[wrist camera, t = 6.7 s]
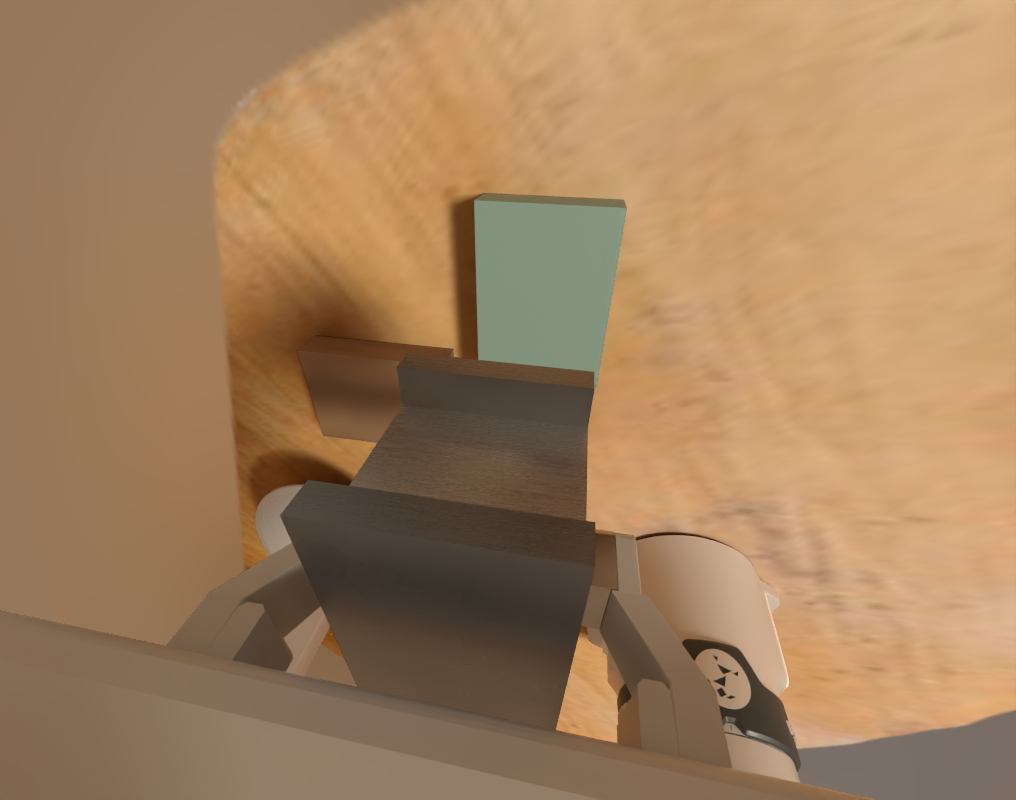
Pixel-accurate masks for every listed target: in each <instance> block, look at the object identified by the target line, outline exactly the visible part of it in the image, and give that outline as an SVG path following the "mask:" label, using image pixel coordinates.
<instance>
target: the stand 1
mask: <svg viewBox="0 0 1016 800" xmlns="http://www.w3.org/2000/svg"><path fill="white" fill-rule="evenodd" d="M297 353H298V356H299V360H300V363H301V366H302V369H303V372H304V376H305V379H306V382H307V385H308V388H309V392H310V395H311V398H312V401H313V405H314V408H315V411H316V414H317V417H318V421H319V424H320V427H321V430H322V433H323V436H330V437H338V438H346V439H353V440H361V441H368V442H376V443H378V441H379V440H380V438H381V437H382V435H383V434H384V432H385V431H386V429H387V428H388V426H389V425H390V423H391V422H392V420H393V419H394V417H395V416H396V414H397V413H398V411H399V410H400V408H401V406H402V400H401V394H400V387H399V381H398V374H397V368H396V367H397V366H398V364H399V363H400V362H401V361H402V359H403V358H404V357H405V355H406V354H407V353H418V354H427V355H437V356H447V357H454V353H453V349H447V348H437V347H427V346H416V345H406V344H396V343H386V342H376V341H366V340H356V339H346V338H336V337H325V336H314V337H313V338H312V339H311V340H309V341H308V342H307V343H306V344H304V345H303V346H302V347H300V348H299V349H298V350H297Z"/></svg>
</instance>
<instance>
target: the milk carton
mask: <svg viewBox="0 0 1016 800" xmlns="http://www.w3.org/2000/svg"><path fill="white" fill-rule="evenodd" d="M329 628H330V625H329V623H328V621H327V619H326V617H325V614H324V612H323V610H322V608H321V606H320V607H319V608H318V609H317V610H316V611H315V612H313V613H312V614H311V615H310V616H309V617H308V618H306V619H305V620H304V621H303V622H302V623H301V624H299V625H298V626H297V627H296V628H295V629H294V630H292V631H291V632H290V633H289V634H288V635H287V636H285V637H284V640H285V642H286V643H287V645H288V647H289V648H290V650H291V652H292V655H293V660H292V662H291V663H290V665H289V667H288V669H287V671H286V672H289V673H294V674H298V675H303V676H305V675H306V673H307V671H308V669H309V667H310V665H311V663H312V661H313V659H314V657H315V655H316V654H317V652H318V650H319V648H320V646H321V644H322V642H323V640H324V638H325V636H326V634H327V632H328V630H329Z"/></svg>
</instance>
